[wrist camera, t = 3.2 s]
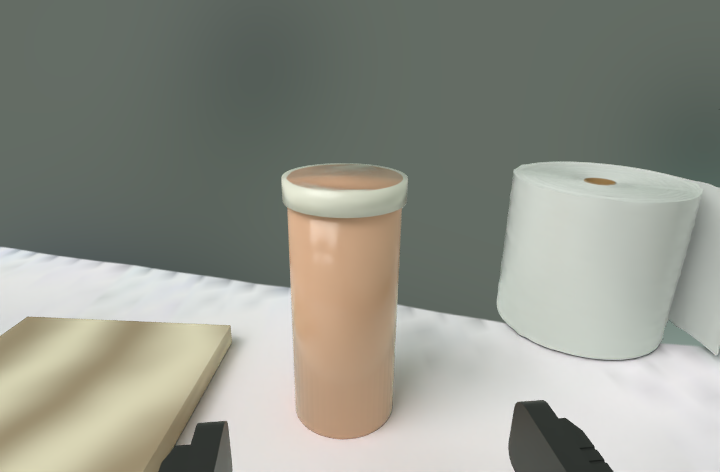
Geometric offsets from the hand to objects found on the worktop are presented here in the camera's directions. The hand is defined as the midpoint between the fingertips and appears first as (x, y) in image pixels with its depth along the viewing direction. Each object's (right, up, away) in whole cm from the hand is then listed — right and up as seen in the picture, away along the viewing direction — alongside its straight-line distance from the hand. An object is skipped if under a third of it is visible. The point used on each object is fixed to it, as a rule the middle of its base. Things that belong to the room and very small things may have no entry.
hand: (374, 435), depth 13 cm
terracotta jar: (-1, -3, +11) cm, 12 cm away
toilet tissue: (+15, 0, +20) cm, 25 cm away
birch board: (-15, -3, +11) cm, 19 cm away
